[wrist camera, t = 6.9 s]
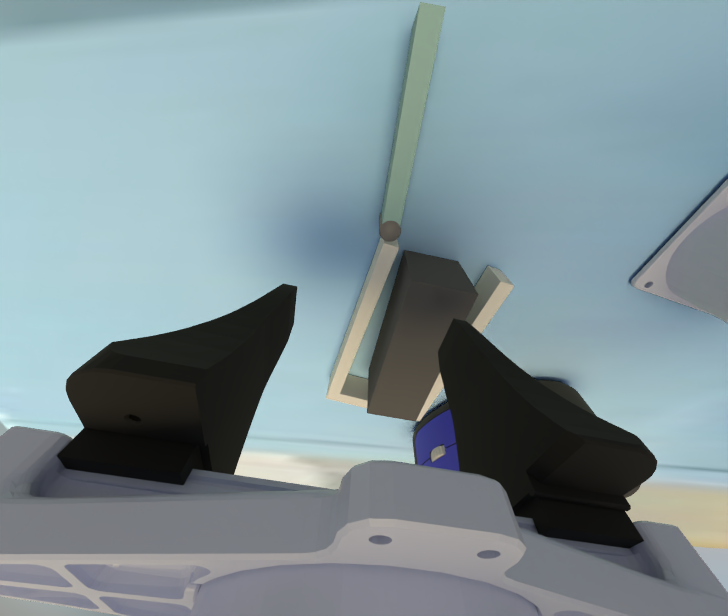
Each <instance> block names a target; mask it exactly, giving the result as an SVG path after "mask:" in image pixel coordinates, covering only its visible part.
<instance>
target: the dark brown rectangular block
mask: <svg viewBox="0 0 728 616" xmlns="http://www.w3.org/2000/svg"><path fill="white" fill-rule="evenodd" d="M478 295H479V294H478V293H477V291H476V290H475V288H474V286H473V285H472V283H471V281H470V280H469V278H468V277H467V275H466V273H465V272H464V270H463V269H462V267H461V265H460V264H459V262H458V261H454V260H449V259H444V258H439V257H435V256H430V255H425V254H421V253H416V252H411V251H407V250H404V252H403V256H402V259H401V263H400V266H399V269H398V273H397V276H396V279H395V283H394V286H393V290H392V293H391V296H390V300H389V303H388V306H387V310H386V313H385V316H384V320H383V323H382V327H381V330H380V333H379V337H378V340H377V343H376V347H375V350H374V354H373V357H372V360H371V364H370V367H369V377H368V402H367V413H370V414H375V415H381V416H387V417H393V418H399V419H405V420H411V421H416V420H417V418H418V416H419V414H420V412H421V410H422V408H423V406H424V404H425V402H426V400H427V398H428V396H429V394H430V392H431V389H432V387H433V385H434V383H435V381H436V379H437V377H438V375H439V373H440V368H439V360H438V350H439V348H440V346H441V344H442V342H443V339H444V337H445V335H446V333H447V331H448V329H449V327H450V325H451V322H452V320H453V318H454V319H459V320H464V321H466V319H467V317H468V315H469V313H470V311H471V309H472V307H473V305H474V303H475V301H476V299H477V297H478Z"/></svg>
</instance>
